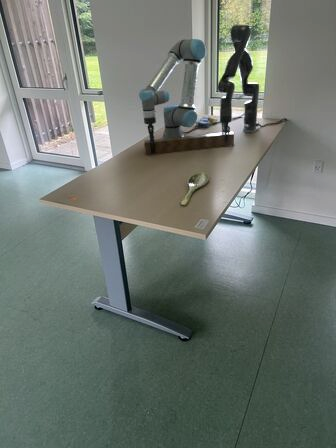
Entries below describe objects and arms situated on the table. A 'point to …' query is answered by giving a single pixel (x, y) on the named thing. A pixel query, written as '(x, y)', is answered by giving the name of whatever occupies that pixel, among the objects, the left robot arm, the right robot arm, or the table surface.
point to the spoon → (195, 184)
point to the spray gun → (206, 121)
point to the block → (189, 143)
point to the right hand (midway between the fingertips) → (225, 140)
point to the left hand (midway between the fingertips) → (153, 150)
